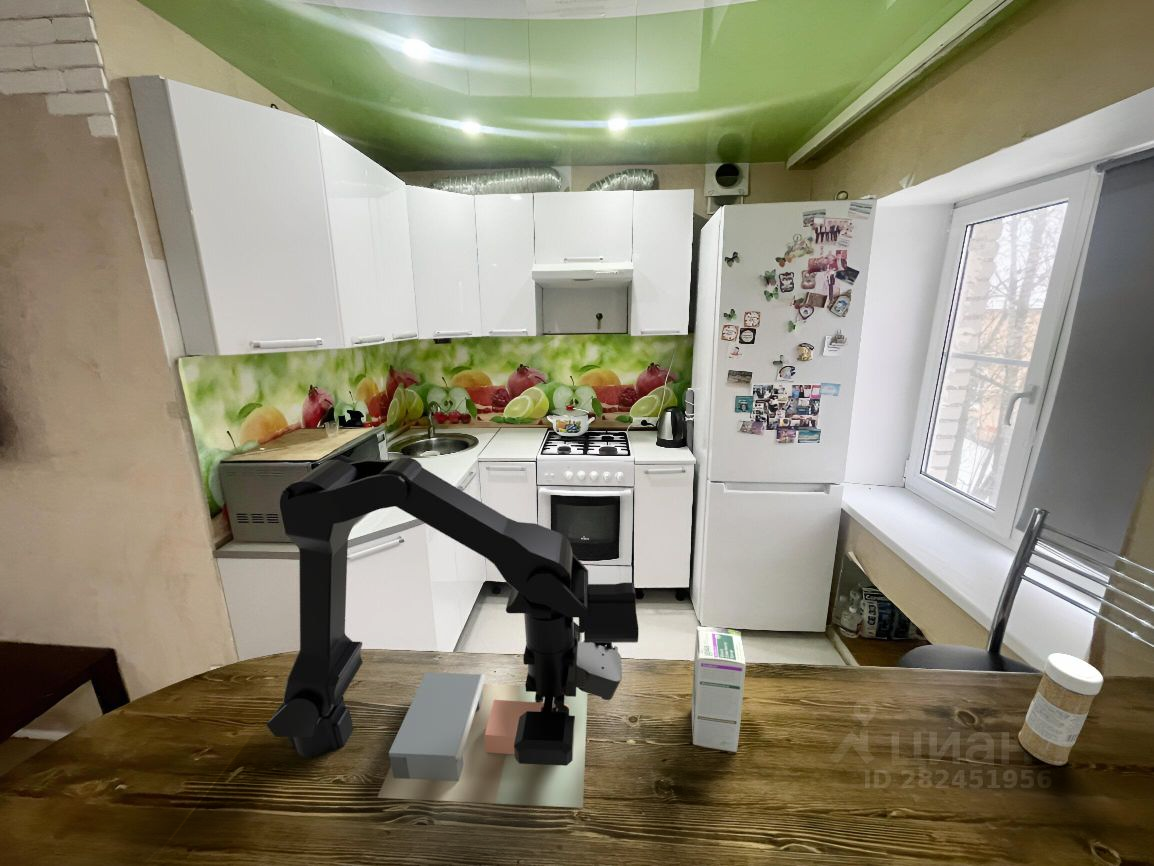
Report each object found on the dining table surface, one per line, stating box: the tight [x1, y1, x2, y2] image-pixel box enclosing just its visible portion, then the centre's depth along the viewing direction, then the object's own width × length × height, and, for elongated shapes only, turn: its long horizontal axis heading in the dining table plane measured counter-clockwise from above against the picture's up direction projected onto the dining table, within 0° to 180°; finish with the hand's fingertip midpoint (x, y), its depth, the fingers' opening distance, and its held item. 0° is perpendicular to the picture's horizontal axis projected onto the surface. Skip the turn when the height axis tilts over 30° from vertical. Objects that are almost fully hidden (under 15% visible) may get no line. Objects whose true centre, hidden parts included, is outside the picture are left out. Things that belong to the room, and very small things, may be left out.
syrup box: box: [691, 625, 747, 753], centre depth 59 cm, size 6×6×14 cm
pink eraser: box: [485, 700, 568, 754], centre depth 59 cm, size 10×5×3 cm, turn 87°
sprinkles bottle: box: [1017, 652, 1104, 766], centre depth 55 cm, size 5×5×14 cm
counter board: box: [377, 683, 588, 809], centre depth 60 cm, size 24×16×1 cm, turn 87°
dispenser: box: [388, 672, 487, 781], centre depth 59 cm, size 9×12×4 cm
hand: (554, 732), depth 59 cm, fingers closed on pink eraser, 5 cm apart
